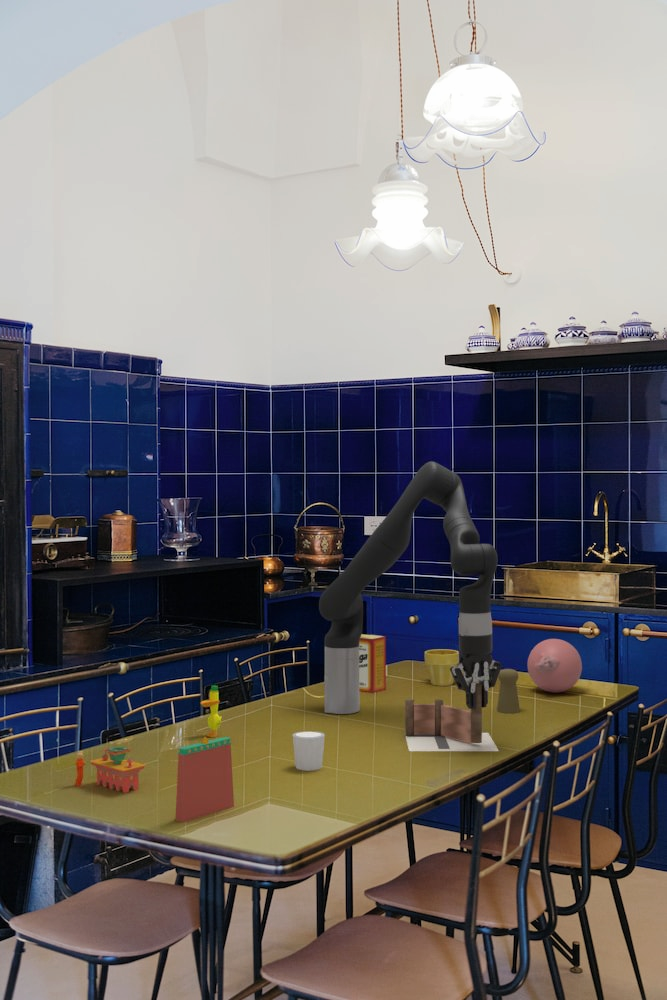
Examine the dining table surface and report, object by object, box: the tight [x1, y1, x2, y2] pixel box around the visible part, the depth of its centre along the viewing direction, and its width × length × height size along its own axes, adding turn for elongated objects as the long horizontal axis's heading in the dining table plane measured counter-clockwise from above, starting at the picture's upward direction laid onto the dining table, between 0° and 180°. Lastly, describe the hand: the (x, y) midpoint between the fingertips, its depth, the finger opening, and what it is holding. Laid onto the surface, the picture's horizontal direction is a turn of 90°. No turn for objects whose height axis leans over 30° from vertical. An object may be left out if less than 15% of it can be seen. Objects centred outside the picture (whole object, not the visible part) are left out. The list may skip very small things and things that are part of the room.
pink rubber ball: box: [526, 638, 583, 694], centre depth 307 cm, size 15×20×15 cm
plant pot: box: [424, 648, 460, 687], centre depth 323 cm, size 10×10×10 cm
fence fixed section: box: [404, 698, 444, 737], centre depth 254 cm, size 9×2×8 cm, turn 89°
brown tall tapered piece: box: [496, 668, 521, 714], centre depth 284 cm, size 6×6×11 cm
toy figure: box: [200, 685, 222, 738], centre depth 255 cm, size 7×4×12 cm, turn 141°
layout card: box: [404, 732, 500, 752], centre depth 248 cm, size 20×18×1 cm
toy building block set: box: [74, 736, 235, 823], centre depth 206 cm, size 12×35×14 cm, turn 49°
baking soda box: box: [359, 633, 387, 694], centre depth 314 cm, size 10×6×16 cm
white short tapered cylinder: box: [292, 730, 326, 772], centre depth 227 cm, size 7×7×7 cm
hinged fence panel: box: [441, 682, 483, 743], centre depth 248 cm, size 12×2×14 cm, turn 37°
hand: (477, 707), depth 243 cm, fingers closed on hinged fence panel, 2 cm apart
